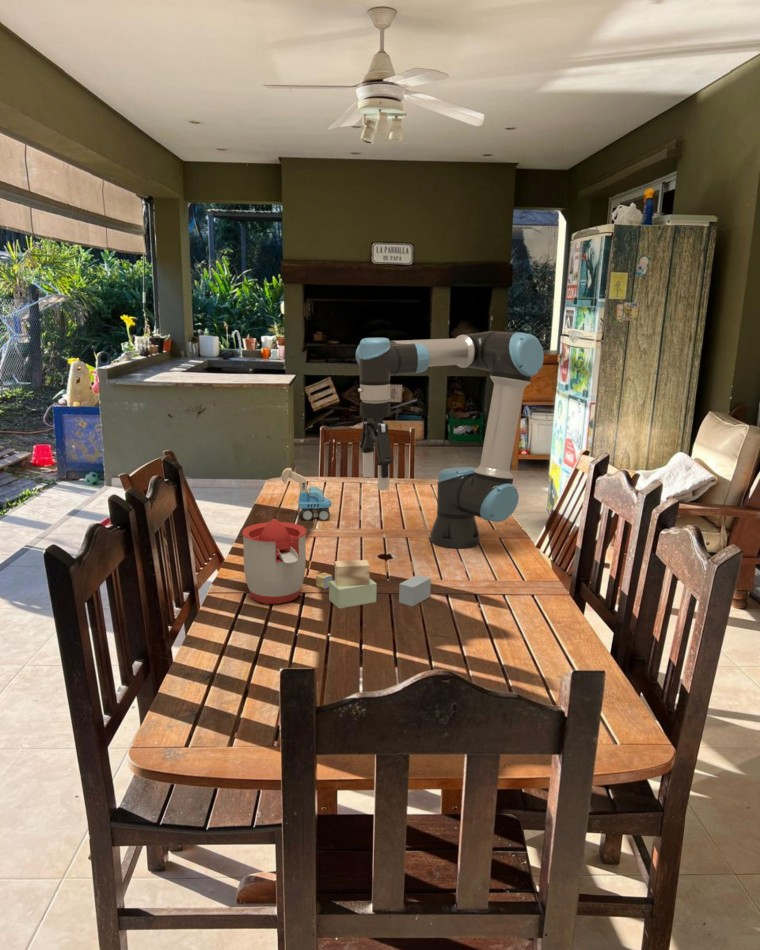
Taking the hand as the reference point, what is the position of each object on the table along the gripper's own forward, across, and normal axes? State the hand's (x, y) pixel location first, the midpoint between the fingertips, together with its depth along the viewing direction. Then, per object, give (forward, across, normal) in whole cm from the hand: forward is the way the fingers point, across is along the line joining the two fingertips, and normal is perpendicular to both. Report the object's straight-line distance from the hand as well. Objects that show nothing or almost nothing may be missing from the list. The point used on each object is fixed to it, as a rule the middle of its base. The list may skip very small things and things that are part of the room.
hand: (375, 483), depth 194 cm
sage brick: (+26, +12, -10) cm, 31 cm away
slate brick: (+27, +15, +5) cm, 31 cm away
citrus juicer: (+26, +6, -28) cm, 38 cm away
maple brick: (+21, +12, -10) cm, 26 cm away
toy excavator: (+27, -62, -6) cm, 68 cm away
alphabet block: (+26, +1, -14) cm, 30 cm away
